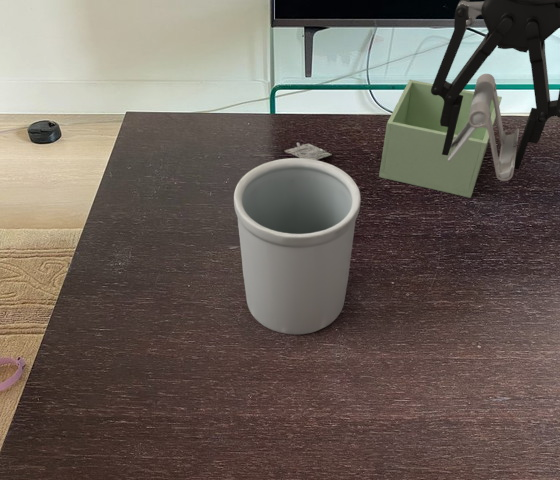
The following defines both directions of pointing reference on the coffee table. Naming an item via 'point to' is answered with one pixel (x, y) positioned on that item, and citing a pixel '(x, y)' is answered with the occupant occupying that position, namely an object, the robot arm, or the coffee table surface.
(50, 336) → the coffee table surface
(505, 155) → the tablet stand
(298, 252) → the utensil holder
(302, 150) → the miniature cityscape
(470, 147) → the bin
